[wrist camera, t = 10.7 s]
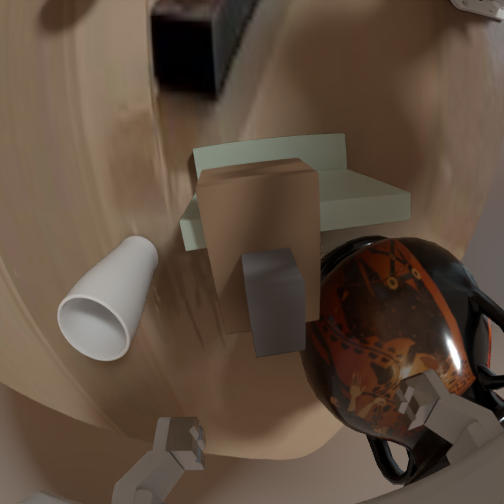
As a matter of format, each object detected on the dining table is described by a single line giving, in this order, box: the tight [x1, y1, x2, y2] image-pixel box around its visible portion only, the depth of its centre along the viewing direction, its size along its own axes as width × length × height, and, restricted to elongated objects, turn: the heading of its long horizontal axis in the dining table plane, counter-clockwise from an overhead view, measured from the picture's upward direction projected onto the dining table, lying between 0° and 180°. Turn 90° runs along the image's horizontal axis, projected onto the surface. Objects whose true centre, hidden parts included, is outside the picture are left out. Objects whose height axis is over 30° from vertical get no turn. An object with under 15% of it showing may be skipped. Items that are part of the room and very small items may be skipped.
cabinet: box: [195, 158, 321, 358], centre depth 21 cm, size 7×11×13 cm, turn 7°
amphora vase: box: [300, 235, 504, 487], centre depth 25 cm, size 22×22×28 cm
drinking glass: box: [57, 236, 158, 361], centre depth 26 cm, size 7×7×15 cm
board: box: [180, 133, 411, 251], centre depth 24 cm, size 16×6×14 cm, turn 97°
